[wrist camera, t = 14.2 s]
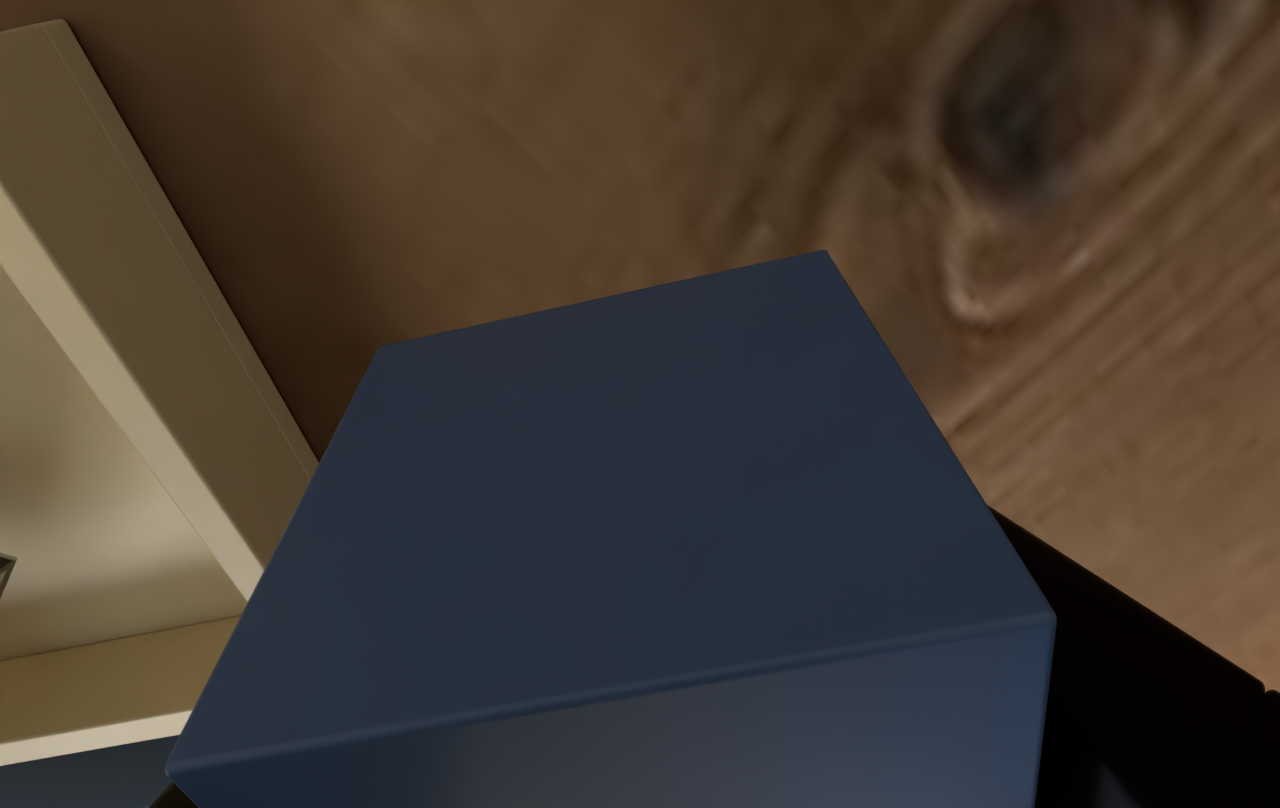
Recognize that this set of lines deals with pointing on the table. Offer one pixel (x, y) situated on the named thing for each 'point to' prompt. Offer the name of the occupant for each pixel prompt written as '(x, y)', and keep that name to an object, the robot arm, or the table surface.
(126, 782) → the slate-blue tray
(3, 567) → the building blocks
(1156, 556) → the table surface
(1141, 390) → the table surface
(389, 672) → the blue block
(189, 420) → the cream tray
